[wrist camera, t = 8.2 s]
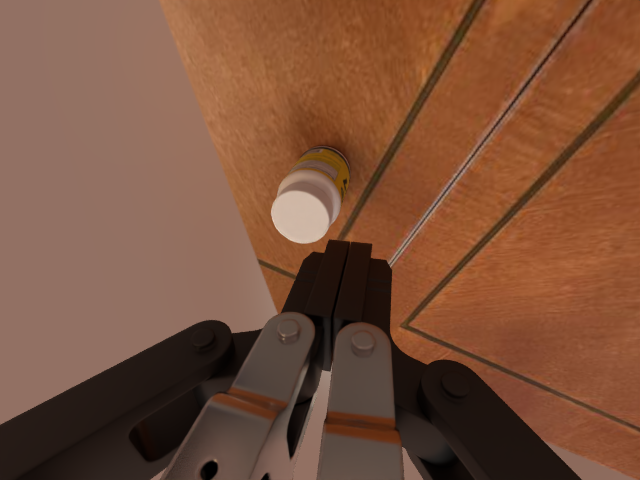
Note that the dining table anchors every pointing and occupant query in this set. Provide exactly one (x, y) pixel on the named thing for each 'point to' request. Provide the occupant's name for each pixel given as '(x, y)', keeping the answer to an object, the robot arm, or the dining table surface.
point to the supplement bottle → (311, 195)
